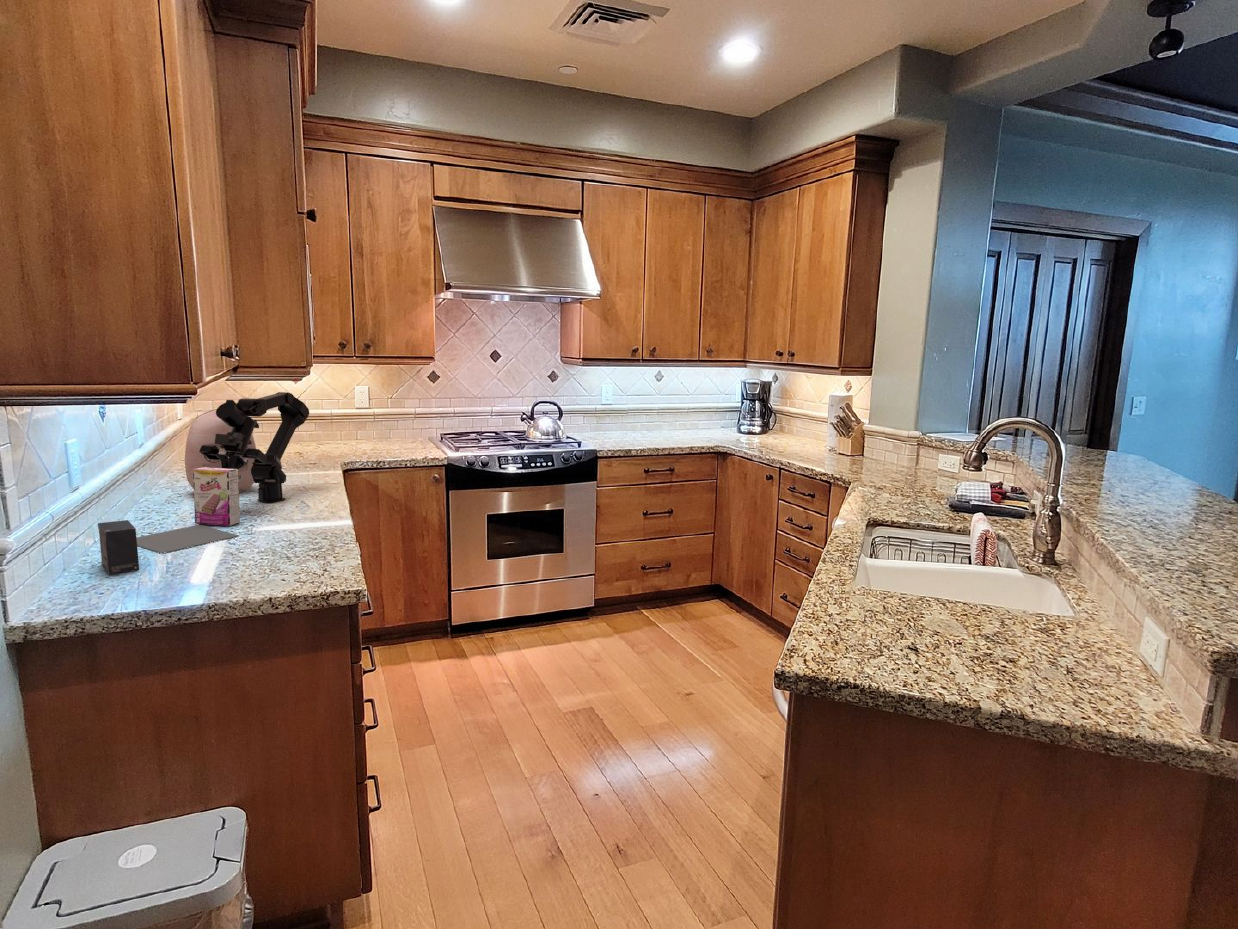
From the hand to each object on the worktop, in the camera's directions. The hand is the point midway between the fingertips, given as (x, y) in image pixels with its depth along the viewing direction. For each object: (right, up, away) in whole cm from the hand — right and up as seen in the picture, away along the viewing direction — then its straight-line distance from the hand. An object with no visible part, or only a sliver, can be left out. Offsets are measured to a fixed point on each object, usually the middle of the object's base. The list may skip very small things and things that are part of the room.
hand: (224, 479), depth 213 cm
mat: (+1, -16, -22) cm, 27 cm away
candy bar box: (+2, -13, -7) cm, 15 cm away
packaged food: (-18, -6, +33) cm, 38 cm away
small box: (+1, -20, -46) cm, 50 cm away
